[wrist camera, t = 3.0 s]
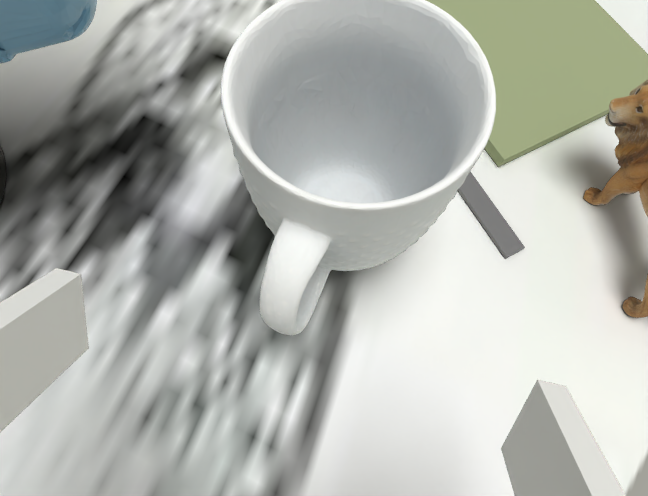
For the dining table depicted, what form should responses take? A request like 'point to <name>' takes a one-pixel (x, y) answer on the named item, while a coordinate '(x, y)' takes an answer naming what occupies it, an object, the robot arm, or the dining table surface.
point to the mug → (351, 134)
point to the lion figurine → (628, 165)
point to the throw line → (490, 217)
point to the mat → (548, 66)
